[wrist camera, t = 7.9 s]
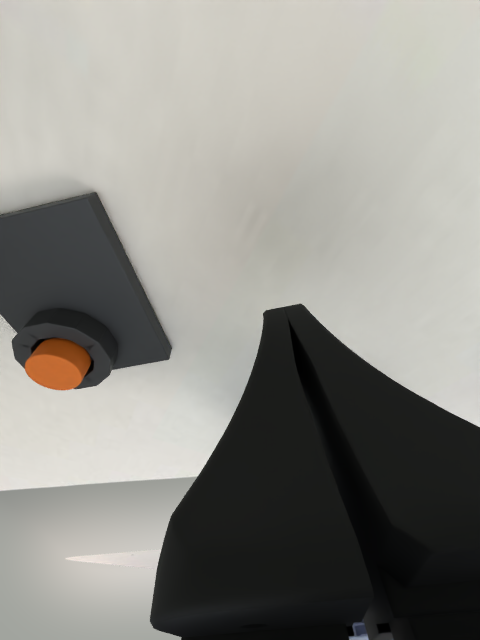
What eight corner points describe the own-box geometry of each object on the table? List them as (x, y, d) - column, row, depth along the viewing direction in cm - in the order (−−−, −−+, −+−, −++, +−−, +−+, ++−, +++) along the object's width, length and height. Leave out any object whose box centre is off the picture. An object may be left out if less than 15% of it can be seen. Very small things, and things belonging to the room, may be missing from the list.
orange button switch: (172, 348, 24) (165, 376, 21) (66, 367, 25) (48, 396, 22) (96, 191, 16) (72, 205, 14) (-53, 227, 17) (-102, 247, 15)
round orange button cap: (100, 368, 21) (91, 386, 20) (57, 376, 21) (45, 394, 20) (74, 333, 19) (62, 350, 18) (27, 342, 19) (11, 360, 18)
